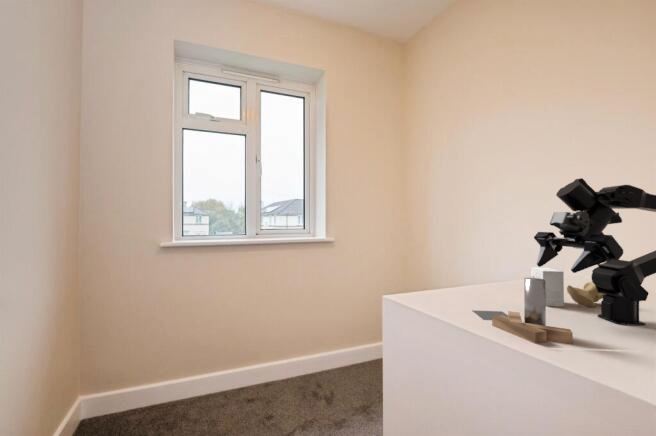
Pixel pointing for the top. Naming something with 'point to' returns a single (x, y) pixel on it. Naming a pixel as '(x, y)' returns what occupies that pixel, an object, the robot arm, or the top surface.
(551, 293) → the small box
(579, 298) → the tan curved shape
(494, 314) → the mat
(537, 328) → the v block
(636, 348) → the top surface
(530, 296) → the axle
